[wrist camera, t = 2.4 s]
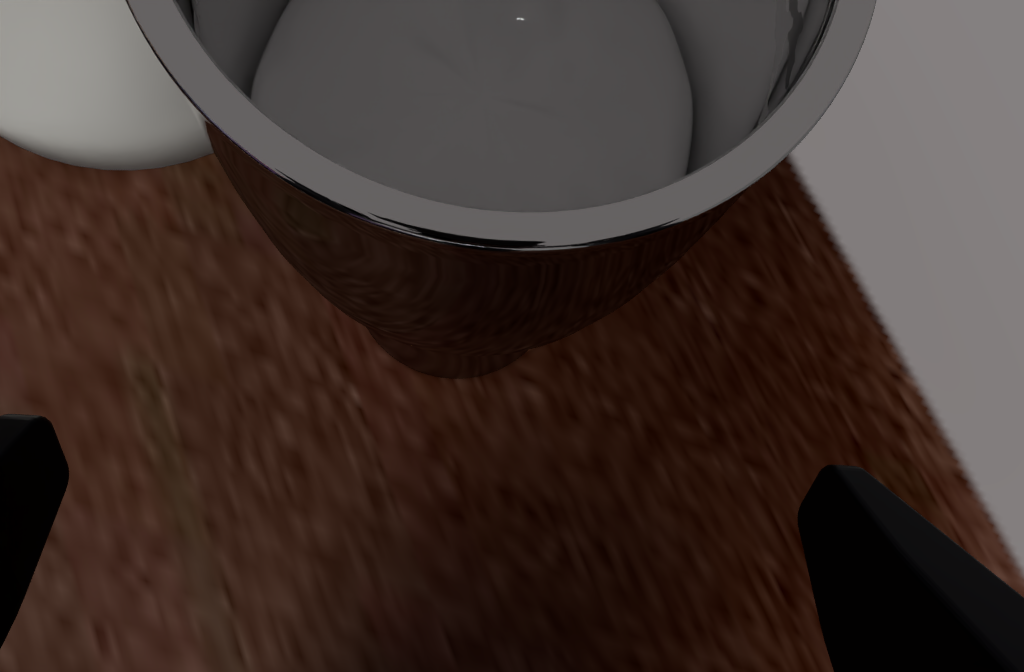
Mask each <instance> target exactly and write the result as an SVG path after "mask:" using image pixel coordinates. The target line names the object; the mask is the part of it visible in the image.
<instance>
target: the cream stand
mask: <svg viewBox="0 0 1024 672" xmlns="http://www.w3.org/2000/svg"><path fill="white" fill-rule="evenodd" d="M0 136H1V137H3V138H5V139H6V140H8V141H10V142H12V143H14V144H15V145H17V146H19V147H21V148H23V149H25V150H28V151H30V152H33V153H35V154H38V155H40V156H43V157H45V158H48V159H52V160H55V161H59V162H63V163H67V164H71V165H74V166H80V167H88V168H95V169H102V170H141V169H152V168H162V167H166V166H171V165H175V164H180V163H184V162H189V161H192V160H195V159H197V158H200V157H203V156H206V155H209V154H212V153H214V152H213V150H212V148H211V147H210V145H209V143H208V141H207V139H206V138H205V136H204V134H203V132H202V130H201V128H200V126H199V125H198V123H197V121H196V119H195V117H194V115H193V113H192V111H191V109H190V107H189V105H188V103H187V102H186V100H185V98H184V96H183V94H182V92H181V91H180V89H179V88H178V87H177V85H176V84H175V83H174V82H173V80H172V79H171V78H170V77H169V75H168V74H167V72H166V71H165V69H164V68H163V67H162V65H161V64H160V62H159V61H158V59H157V58H156V56H155V55H154V53H153V52H152V50H151V48H150V47H149V45H148V44H147V42H146V40H145V38H144V37H143V35H142V33H141V31H140V30H139V28H138V26H137V24H136V22H135V20H134V18H133V16H132V14H131V12H130V10H129V8H128V6H127V3H126V1H125V0H0Z"/></svg>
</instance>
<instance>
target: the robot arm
mask: <svg viewBox="0 0 1024 672" xmlns="http://www.w3.org/2000/svg"><path fill="white" fill-rule="evenodd" d="M68 480H69V468H68V464H67V461H66V459H65V456H64V453H63V451H62V448H61V446H60V443H59V440H58V438H57V435H56V433H55V430H54V428H53V425H52V423H51V422H50V421H49V420H48V419H47V418H46V417H42V416H37V415H21V414H6V415H2V416H0V648H1V646H2V645H3V643H4V641H5V639H6V637H7V635H8V633H9V631H10V628H11V626H12V624H13V622H14V620H15V618H16V616H17V614H18V611H19V609H20V607H21V604H22V602H23V600H24V597H25V595H26V592H27V590H28V587H29V584H30V582H31V579H32V577H33V574H34V571H35V569H36V566H37V564H38V561H39V559H40V556H41V553H42V551H43V548H44V546H45V543H46V540H47V538H48V535H49V533H50V530H51V527H52V525H53V522H54V520H55V517H56V514H57V512H58V509H59V507H60V504H61V501H62V499H63V496H64V494H65V491H66V488H67V485H68ZM798 527H799V532H800V536H801V541H802V545H803V550H804V554H805V559H806V563H807V568H808V572H809V576H810V581H811V585H812V590H813V594H814V599H815V603H816V608H817V612H818V616H819V621H820V625H821V629H822V633H823V637H824V641H825V644H826V647H827V651H828V654H829V657H830V660H831V664H832V667H833V670H834V672H1024V597H1022V596H1021V595H1020V594H1019V593H1017V592H1016V591H1015V590H1014V589H1012V588H1011V587H1010V586H1009V585H1007V584H1006V583H1005V582H1004V581H1002V580H1001V579H1000V578H999V577H997V576H996V575H995V574H994V573H992V572H991V571H990V570H989V569H987V568H986V567H985V566H984V565H982V564H981V563H980V562H979V561H977V560H976V559H975V558H974V557H972V556H971V555H970V554H969V553H967V552H966V551H965V550H964V549H962V548H961V547H960V546H959V545H957V544H956V543H955V542H954V541H953V540H951V539H950V538H949V537H948V536H946V535H945V534H944V533H943V532H941V531H940V530H939V529H938V528H936V527H935V526H934V525H933V524H931V523H930V522H929V521H928V520H926V519H925V518H924V517H923V516H921V515H920V514H919V513H918V512H916V511H915V510H914V509H913V508H911V507H910V506H909V505H908V504H906V503H905V502H904V501H903V500H901V499H900V498H899V497H898V496H896V495H895V494H894V493H893V492H891V491H890V490H889V489H888V488H886V487H885V486H884V485H883V484H882V483H880V482H879V481H878V480H877V479H875V478H874V477H873V476H872V475H870V474H869V473H868V472H866V471H865V470H864V469H862V468H860V467H856V466H844V465H827V466H826V467H824V468H823V469H821V471H820V472H819V474H818V475H817V477H816V479H815V481H814V482H813V484H812V486H811V487H810V489H809V491H808V493H807V494H806V496H805V498H804V500H803V501H802V503H801V505H800V508H799V511H798Z"/></svg>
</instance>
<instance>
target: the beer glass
mask: <svg viewBox="0 0 1024 672" xmlns="http://www.w3.org/2000/svg"><path fill="white" fill-rule="evenodd" d="M125 1H126V3H127V6H128V8H129V10H130V12H131V14H132V16H133V18H134V20H135V22H136V24H137V26H138V28H139V30H140V31H141V33H142V35H143V37H144V38H145V40H146V42H147V44H148V45H149V47H150V48H151V50H152V52H153V53H154V55H155V56H156V58H157V59H158V61H159V62H160V64H161V65H162V67H163V68H164V69H165V71H166V72H167V74H168V75H169V77H170V78H171V79H172V80H173V82H174V83H175V84H176V85H177V87H178V88H179V89H180V91H181V92H182V94H183V96H184V98H185V100H186V102H187V103H188V105H189V107H190V109H191V111H192V113H193V115H194V117H195V119H196V121H197V123H198V125H199V126H200V128H201V130H202V132H203V134H204V136H205V138H206V139H207V141H208V143H209V145H210V147H211V148H212V150H213V152H214V153H215V155H216V157H217V159H218V160H219V162H220V164H221V166H222V167H223V169H224V171H225V173H226V174H227V176H228V178H229V180H230V181H231V183H232V185H233V186H234V188H235V190H236V191H237V193H238V194H239V196H240V198H241V199H242V201H243V202H244V203H245V205H246V206H247V208H248V209H249V211H250V212H251V213H252V215H253V216H254V218H255V219H256V220H257V222H258V223H259V225H260V226H261V227H262V229H263V230H264V232H265V233H266V234H267V236H268V237H269V239H270V240H271V241H272V243H273V244H274V245H275V247H276V248H277V249H278V251H279V252H280V253H281V254H282V255H283V256H284V258H285V259H286V260H287V261H288V262H289V263H290V264H291V265H292V266H293V267H294V269H295V270H296V271H297V272H298V273H299V274H300V275H301V276H303V277H304V278H305V279H306V280H307V281H308V282H309V283H310V284H311V285H312V286H313V287H314V288H315V289H316V290H317V291H318V292H319V293H320V294H321V295H322V296H323V297H324V298H326V299H327V300H328V301H329V302H330V303H332V304H333V305H334V306H335V307H337V308H338V309H339V310H341V311H342V312H343V313H345V314H346V315H348V316H349V317H350V318H352V319H353V320H355V321H357V322H358V323H360V324H362V325H363V326H365V327H366V328H367V330H368V331H369V333H370V334H371V335H372V337H373V338H374V339H375V341H376V342H377V343H378V344H379V345H380V346H381V347H382V348H383V349H384V350H385V351H386V352H387V353H388V354H389V355H391V356H392V357H393V358H394V359H396V360H397V361H399V362H400V363H402V364H404V365H405V366H407V367H409V368H411V369H413V370H416V371H418V372H421V373H424V374H427V375H431V376H435V377H440V378H449V379H465V378H474V377H479V376H483V375H487V374H490V373H493V372H495V371H498V370H500V369H502V368H504V367H506V366H508V365H509V364H511V363H513V362H514V361H516V360H517V359H518V358H520V357H521V356H522V355H524V354H525V353H526V352H527V351H528V350H530V349H534V348H538V347H541V346H544V345H547V344H550V343H553V342H556V341H558V340H561V339H563V338H565V337H568V336H570V335H572V334H574V333H576V332H578V331H580V330H582V329H583V328H585V327H587V326H589V325H591V324H593V323H594V322H596V321H598V320H600V319H602V318H604V317H605V316H607V315H609V314H611V313H612V312H614V311H615V310H617V309H618V308H620V307H622V306H623V305H624V304H626V303H627V302H629V301H630V300H631V299H633V298H634V297H635V296H636V295H638V294H639V293H640V292H641V291H643V290H644V289H645V288H646V287H647V286H649V285H650V284H651V283H652V282H654V281H655V280H656V279H657V278H658V277H660V276H661V275H662V274H663V273H665V272H666V271H667V270H668V269H669V268H671V267H672V266H673V265H674V264H675V263H676V262H677V261H678V260H679V259H680V258H681V257H682V256H683V255H684V254H685V253H686V252H687V251H688V250H689V249H690V248H691V247H692V246H693V245H694V244H695V243H696V242H697V241H698V240H699V239H700V238H701V237H702V236H703V235H704V234H705V233H706V232H707V231H708V230H709V229H710V228H711V227H712V226H713V225H714V224H715V223H716V222H717V221H718V220H719V219H720V218H721V217H722V216H723V215H724V214H725V213H726V212H727V211H728V209H729V208H730V207H731V206H732V205H733V204H734V203H735V202H736V201H737V200H738V199H739V197H740V196H741V195H742V194H743V193H744V192H745V191H746V190H747V189H748V188H749V187H750V186H751V185H752V184H754V183H755V182H757V181H758V180H759V179H761V178H762V177H763V176H764V175H766V174H767V173H768V172H769V171H771V170H772V169H773V168H774V167H775V166H776V165H777V164H779V163H780V162H781V161H782V160H783V159H784V158H785V157H786V156H787V155H788V154H789V153H790V152H791V151H792V150H793V149H794V148H795V147H796V146H797V145H798V144H799V143H800V142H801V141H802V140H803V139H804V138H805V137H806V135H807V134H808V133H809V132H810V131H811V130H812V128H813V127H814V126H815V125H816V124H817V122H818V121H819V120H820V119H821V117H822V116H823V114H824V113H825V112H826V110H827V109H828V107H829V106H830V105H831V103H832V102H833V100H834V98H835V97H836V95H837V94H838V92H839V91H840V89H841V87H842V86H843V84H844V82H845V80H846V78H847V77H848V75H849V73H850V71H851V69H852V67H853V65H854V63H855V61H856V59H857V56H858V54H859V52H860V49H861V47H862V45H863V43H864V40H865V37H866V34H867V31H868V29H869V26H870V22H871V19H872V16H873V12H874V8H875V4H876V0H125Z"/></svg>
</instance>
